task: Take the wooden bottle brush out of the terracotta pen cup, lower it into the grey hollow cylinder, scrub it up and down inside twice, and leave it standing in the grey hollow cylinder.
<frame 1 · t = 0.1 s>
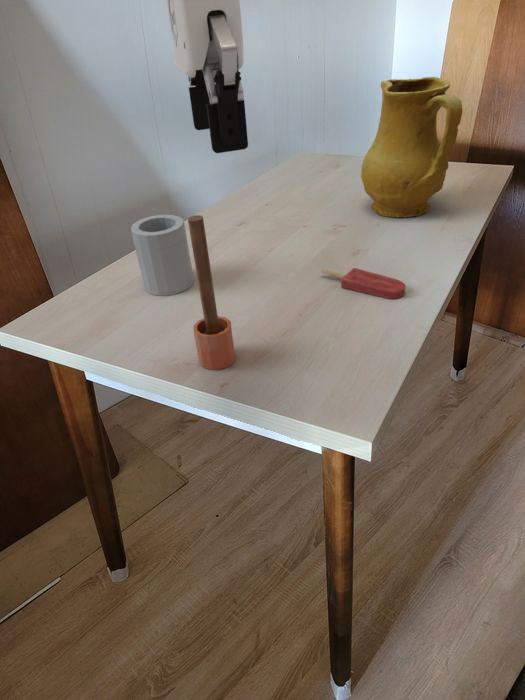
hand: (219, 138, 50), 30 cm above the table, tool pointing down, fingers open, 9 cm apart
grey hollow cylinder: (169, 283, 92), on the table
pen cup: (217, 359, 72), on the table
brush: (216, 356, 72), resting on pen cup
pitcher: (401, 210, 112), on the table
popsicle: (360, 286, 86), on the table
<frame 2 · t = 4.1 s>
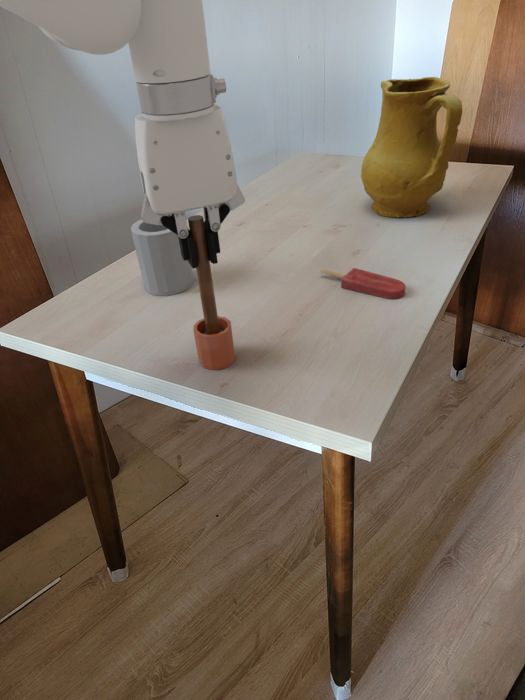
hand: (202, 260, 64), 15 cm above the table, tool pointing down, fingers closed on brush
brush: (216, 356, 72), point 1 cm above the table, touching gripper, pen cup
everything else where it was.
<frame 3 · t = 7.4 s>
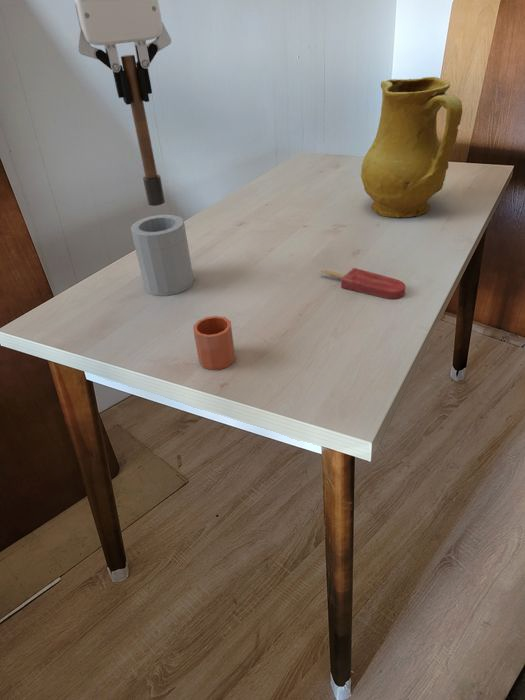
hand: (136, 100, 72), 30 cm above the table, tool pointing down, fingers closed on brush
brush: (156, 202, 81), point 16 cm above the table, touching gripper
everything else where it was.
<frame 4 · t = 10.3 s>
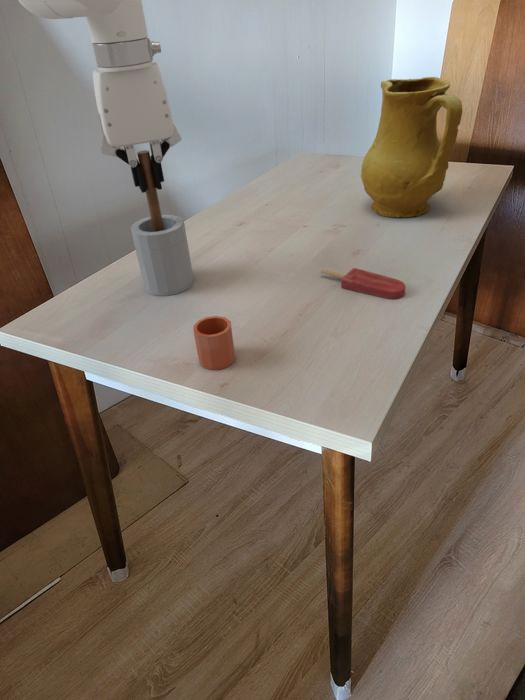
hand: (150, 187, 82), 17 cm above the table, tool pointing down, fingers closed on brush
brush: (167, 270, 90), point 3 cm above the table, touching gripper
everything else where it was.
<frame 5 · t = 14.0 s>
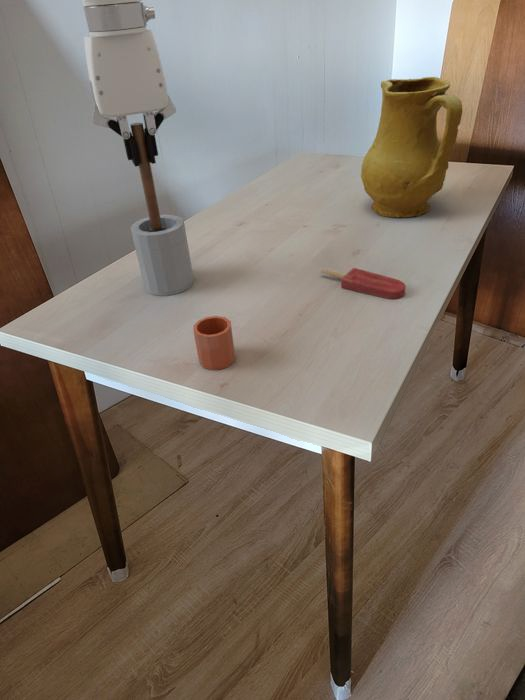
hand: (143, 161, 79), 21 cm above the table, tool pointing down, fingers closed on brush
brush: (161, 250, 88), point 7 cm above the table, touching gripper
everything else where it was.
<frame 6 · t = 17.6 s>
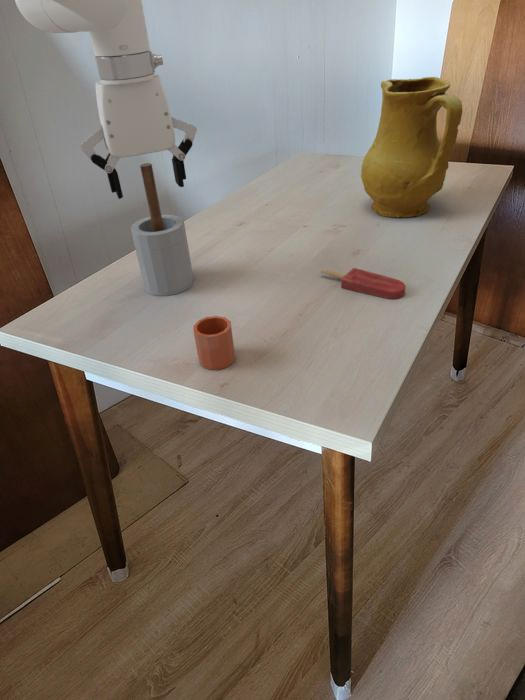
hand: (150, 190, 82), 17 cm above the table, tool pointing down, fingers open, 9 cm apart
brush: (168, 280, 92), point 1 cm above the table, touching grey hollow cylinder
everything else where it was.
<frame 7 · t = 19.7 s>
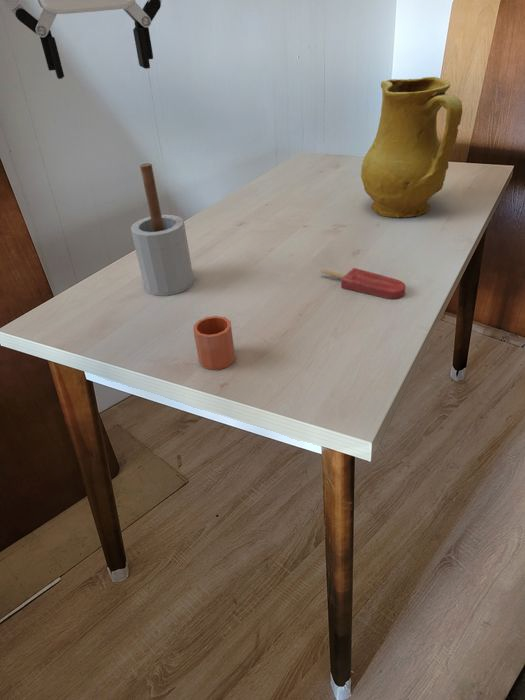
hand: (103, 72, 60), 35 cm above the table, tool pointing down, fingers open, 9 cm apart
nothing on the table moved.
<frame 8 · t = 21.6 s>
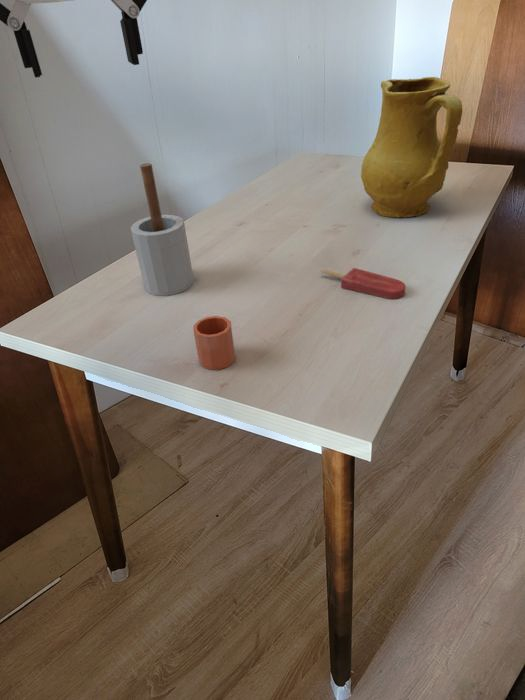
hand: (87, 69, 53), 36 cm above the table, tool pointing down, fingers open, 9 cm apart
nothing on the table moved.
at the end: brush 0.1 cm off-centre in the grey hollow cylinder, point 0.6 cm above the grey hollow cylinder's base; the gripper is holding nothing; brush tilted 0° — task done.
